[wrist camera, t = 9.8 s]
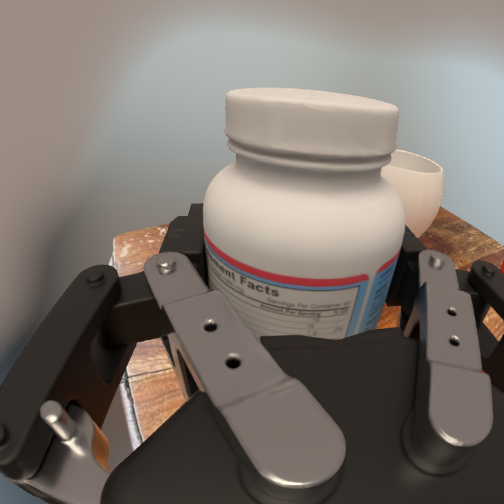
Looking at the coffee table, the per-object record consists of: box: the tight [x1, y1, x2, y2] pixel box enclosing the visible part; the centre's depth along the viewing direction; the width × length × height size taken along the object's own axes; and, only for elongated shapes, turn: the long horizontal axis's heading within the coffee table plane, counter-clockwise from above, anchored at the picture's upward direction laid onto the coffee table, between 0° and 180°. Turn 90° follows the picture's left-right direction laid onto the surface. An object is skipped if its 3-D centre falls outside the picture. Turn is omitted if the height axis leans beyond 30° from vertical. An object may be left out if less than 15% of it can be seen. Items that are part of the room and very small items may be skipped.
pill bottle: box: [203, 88, 405, 341], centre depth 11 cm, size 6×6×11 cm
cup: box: [381, 149, 443, 238], centre depth 36 cm, size 11×11×15 cm
